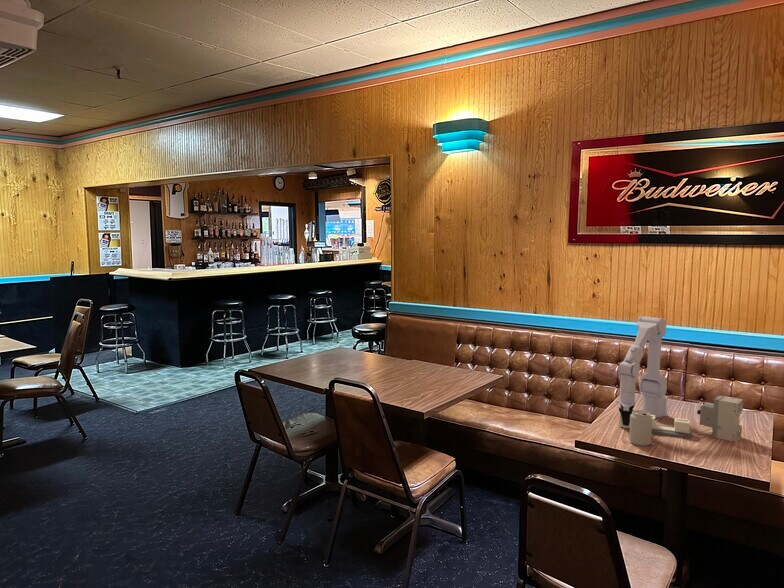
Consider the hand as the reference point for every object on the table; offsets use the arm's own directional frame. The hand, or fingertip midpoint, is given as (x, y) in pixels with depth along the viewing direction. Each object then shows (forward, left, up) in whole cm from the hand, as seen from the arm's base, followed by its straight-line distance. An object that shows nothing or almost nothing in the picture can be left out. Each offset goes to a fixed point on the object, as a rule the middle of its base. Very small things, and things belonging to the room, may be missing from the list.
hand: (626, 423), depth 216 cm
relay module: (0, 0, -2) cm, 2 cm away
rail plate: (-9, +11, -1) cm, 14 cm away
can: (+10, +16, -2) cm, 19 cm away
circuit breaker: (-25, +22, -2) cm, 33 cm away
